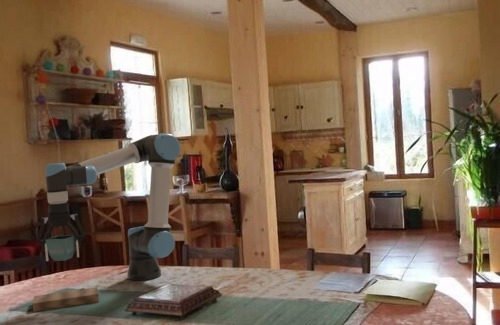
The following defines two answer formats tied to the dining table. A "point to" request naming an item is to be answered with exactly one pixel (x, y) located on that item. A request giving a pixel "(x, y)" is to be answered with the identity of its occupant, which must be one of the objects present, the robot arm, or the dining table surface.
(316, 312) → the dining table surface
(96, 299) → the walnut board
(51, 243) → the flower pot
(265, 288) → the dining table surface
